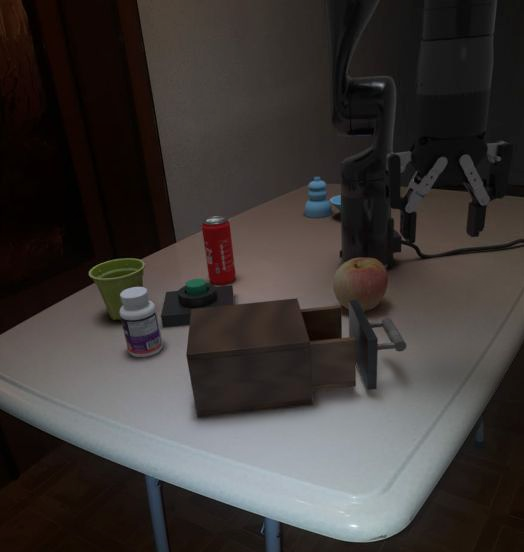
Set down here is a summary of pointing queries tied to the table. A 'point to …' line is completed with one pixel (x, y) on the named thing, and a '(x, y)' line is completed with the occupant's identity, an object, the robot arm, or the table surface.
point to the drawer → (346, 346)
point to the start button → (196, 287)
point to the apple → (361, 282)
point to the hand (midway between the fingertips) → (441, 237)
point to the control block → (193, 303)
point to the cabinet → (249, 357)
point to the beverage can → (218, 249)
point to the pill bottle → (140, 322)
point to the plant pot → (117, 281)
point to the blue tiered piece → (320, 200)
